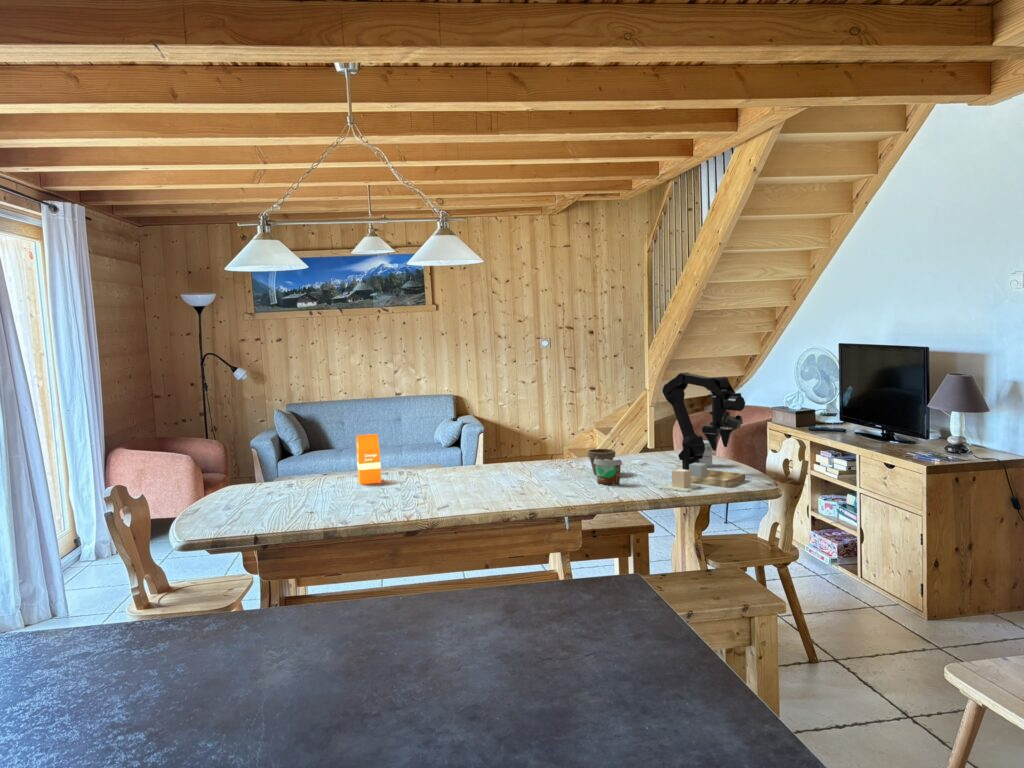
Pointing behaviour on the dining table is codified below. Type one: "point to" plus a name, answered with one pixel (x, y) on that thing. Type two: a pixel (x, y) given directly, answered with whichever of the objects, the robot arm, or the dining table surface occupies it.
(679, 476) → the tan box
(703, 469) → the blue-grey box
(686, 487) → the sage tile
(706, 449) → the light bulb box
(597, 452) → the flower pot
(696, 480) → the wooden tray
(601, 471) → the food container
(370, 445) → the orange juice
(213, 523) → the dining table surface
